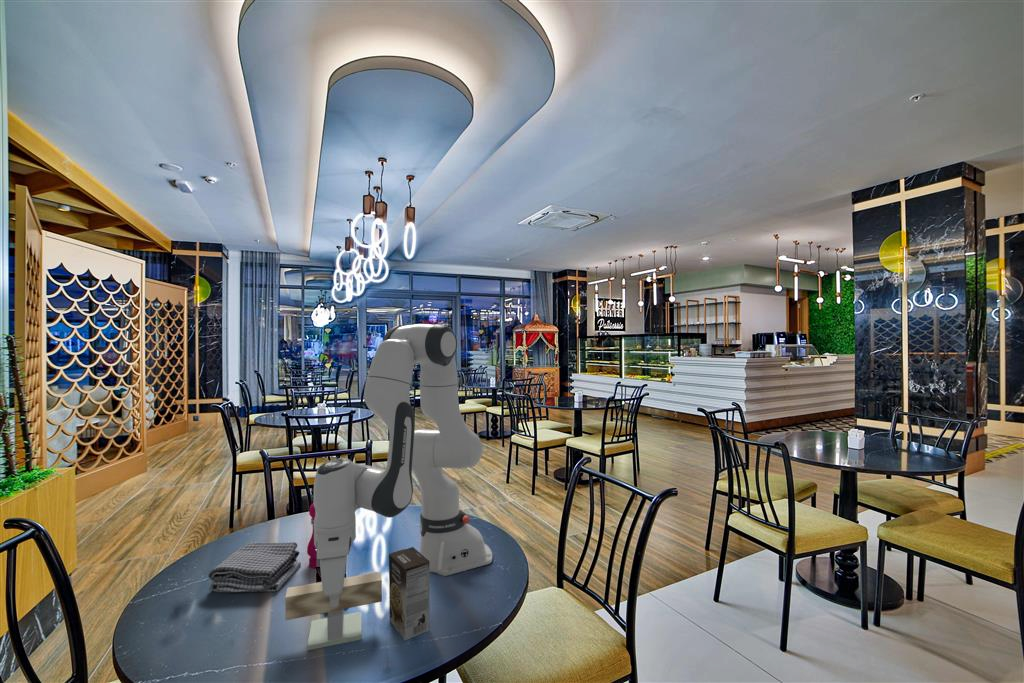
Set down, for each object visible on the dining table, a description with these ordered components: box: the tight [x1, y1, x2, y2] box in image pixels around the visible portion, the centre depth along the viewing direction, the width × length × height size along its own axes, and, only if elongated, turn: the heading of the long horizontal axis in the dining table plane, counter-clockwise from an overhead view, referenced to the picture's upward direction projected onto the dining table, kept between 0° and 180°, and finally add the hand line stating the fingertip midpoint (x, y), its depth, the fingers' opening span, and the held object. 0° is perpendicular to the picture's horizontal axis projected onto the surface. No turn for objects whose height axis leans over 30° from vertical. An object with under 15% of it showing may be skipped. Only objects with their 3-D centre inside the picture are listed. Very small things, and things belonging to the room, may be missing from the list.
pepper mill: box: [306, 502, 317, 569], centre depth 134 cm, size 7×7×20 cm
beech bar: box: [284, 571, 383, 621], centre depth 103 cm, size 20×4×5 cm, turn 110°
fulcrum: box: [306, 609, 363, 651], centre depth 103 cm, size 11×9×6 cm
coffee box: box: [388, 546, 431, 641], centre depth 105 cm, size 9×6×16 cm
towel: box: [207, 541, 302, 593], centre depth 126 cm, size 15×18×8 cm
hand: (335, 593), depth 103 cm, fingers open, 8 cm apart
